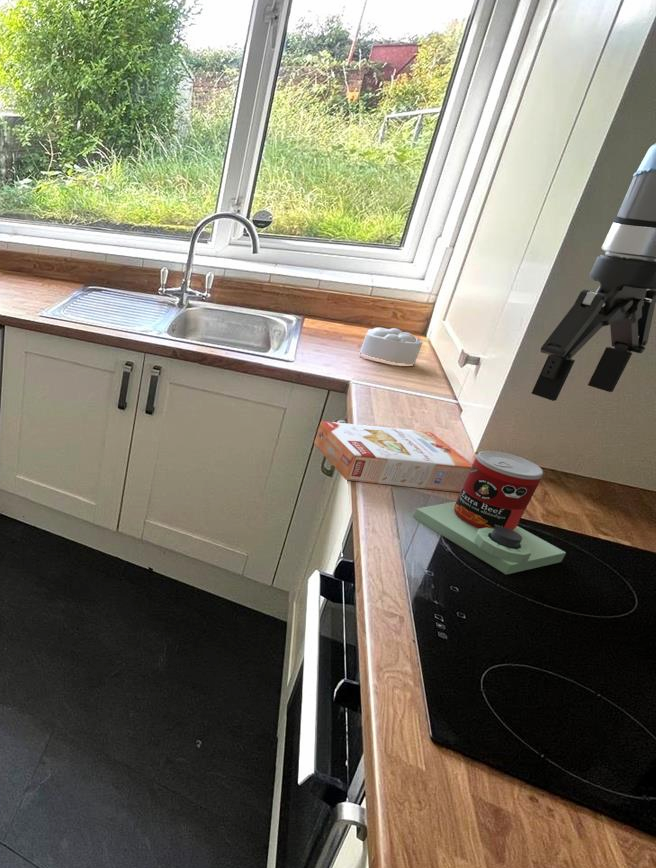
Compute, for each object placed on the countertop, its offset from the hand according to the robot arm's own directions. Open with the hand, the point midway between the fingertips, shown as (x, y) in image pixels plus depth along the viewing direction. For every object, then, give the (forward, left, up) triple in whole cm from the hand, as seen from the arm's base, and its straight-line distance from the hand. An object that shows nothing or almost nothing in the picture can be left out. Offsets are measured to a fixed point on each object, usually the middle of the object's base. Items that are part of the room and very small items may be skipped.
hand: (572, 392), depth 90 cm
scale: (-3, +10, -24) cm, 26 cm away
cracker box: (+13, -4, -21) cm, 25 cm away
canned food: (-1, +8, -22) cm, 24 cm away
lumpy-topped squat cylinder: (+64, -53, -24) cm, 87 cm away
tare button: (-7, +14, -21) cm, 26 cm away
